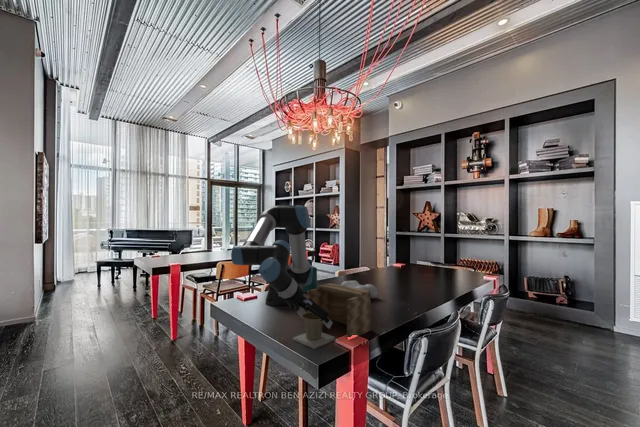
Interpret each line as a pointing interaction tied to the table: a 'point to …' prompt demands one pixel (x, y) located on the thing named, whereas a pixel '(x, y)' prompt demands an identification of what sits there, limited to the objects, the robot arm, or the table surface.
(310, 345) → the tile
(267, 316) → the table surface
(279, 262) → the robot arm
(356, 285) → the torso sculpture
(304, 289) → the dark green bottle
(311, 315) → the flower pot
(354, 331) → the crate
